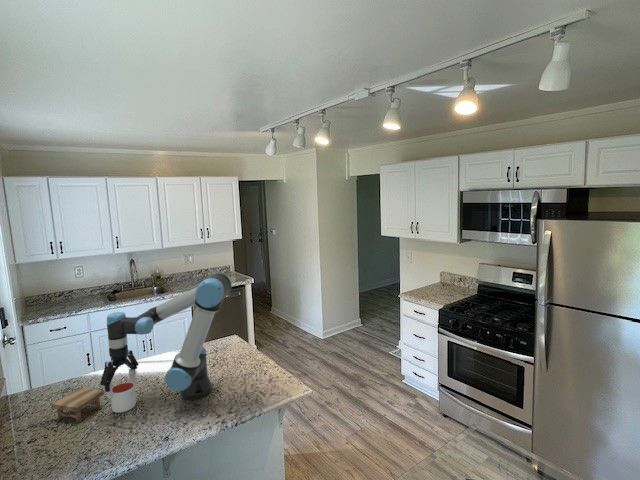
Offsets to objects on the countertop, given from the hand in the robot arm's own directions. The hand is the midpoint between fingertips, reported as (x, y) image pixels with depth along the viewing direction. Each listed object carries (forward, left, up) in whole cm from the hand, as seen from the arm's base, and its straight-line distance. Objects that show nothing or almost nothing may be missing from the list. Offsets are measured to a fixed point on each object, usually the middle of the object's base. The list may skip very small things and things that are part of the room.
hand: (121, 389), depth 164 cm
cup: (0, 0, -9) cm, 9 cm away
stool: (+17, +8, -9) cm, 20 cm away
